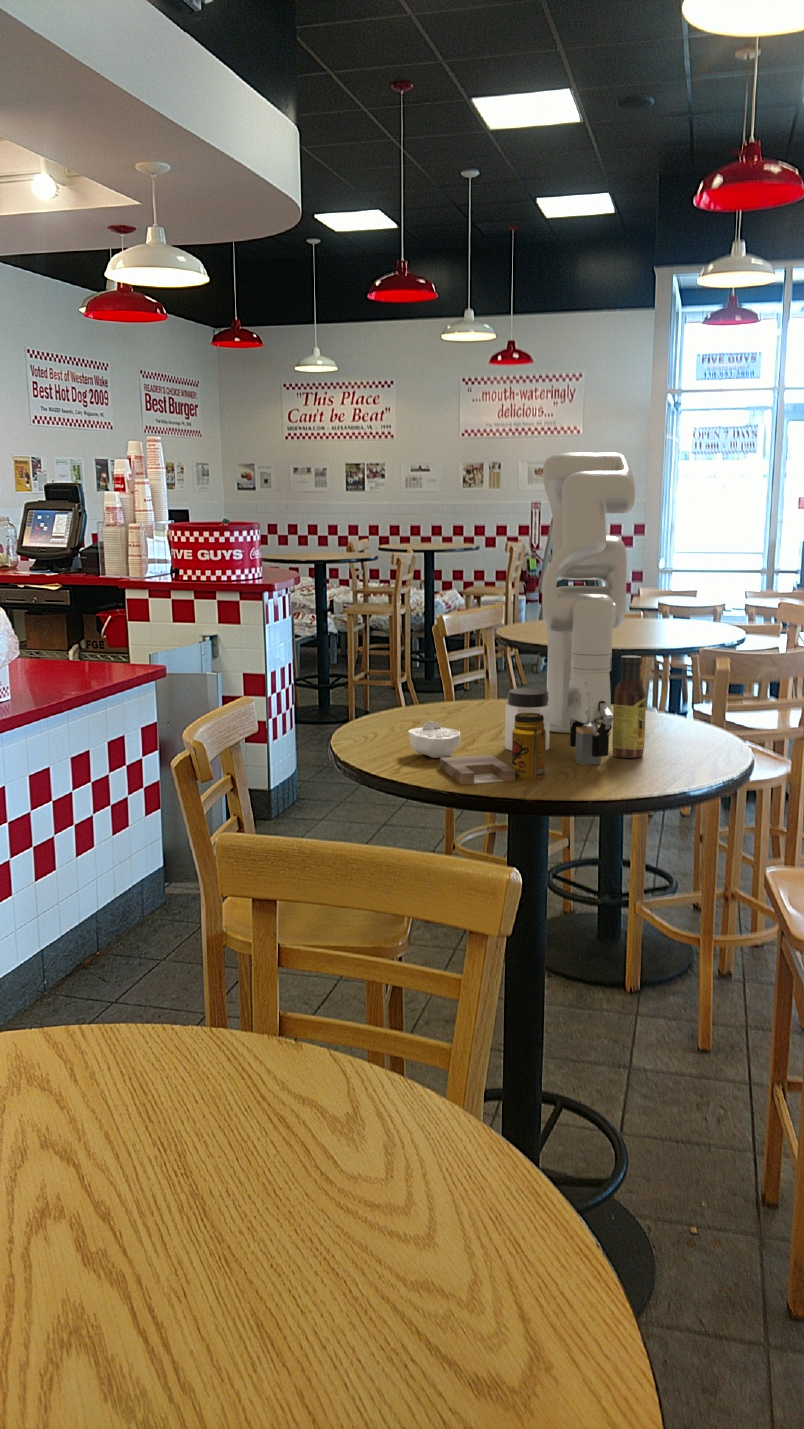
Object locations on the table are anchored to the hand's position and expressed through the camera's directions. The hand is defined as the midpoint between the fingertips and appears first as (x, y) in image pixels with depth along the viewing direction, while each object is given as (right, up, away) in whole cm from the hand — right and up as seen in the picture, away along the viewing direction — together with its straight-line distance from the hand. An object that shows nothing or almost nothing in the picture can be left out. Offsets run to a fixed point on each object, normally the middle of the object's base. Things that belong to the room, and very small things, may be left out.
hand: (588, 751), depth 205 cm
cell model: (-30, -2, +6) cm, 30 cm away
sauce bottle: (+9, -1, +6) cm, 11 cm away
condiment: (-12, -5, -10) cm, 16 cm away
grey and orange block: (0, -2, +1) cm, 2 cm away
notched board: (-22, -4, -9) cm, 24 cm away
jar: (-11, 0, +12) cm, 16 cm away
